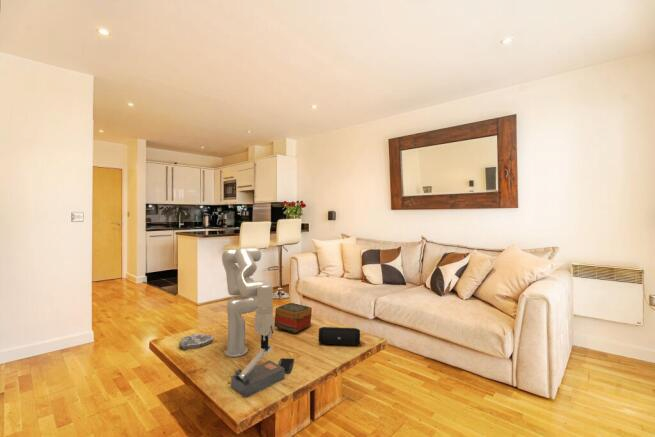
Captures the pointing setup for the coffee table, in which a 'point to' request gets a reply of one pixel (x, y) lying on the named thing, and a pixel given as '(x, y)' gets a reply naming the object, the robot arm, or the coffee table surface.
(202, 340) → the brain slice
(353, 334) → the portable speaker
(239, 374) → the latch bar
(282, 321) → the decorative box
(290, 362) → the phone
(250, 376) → the base block
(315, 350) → the coffee table surface
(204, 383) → the coffee table surface
